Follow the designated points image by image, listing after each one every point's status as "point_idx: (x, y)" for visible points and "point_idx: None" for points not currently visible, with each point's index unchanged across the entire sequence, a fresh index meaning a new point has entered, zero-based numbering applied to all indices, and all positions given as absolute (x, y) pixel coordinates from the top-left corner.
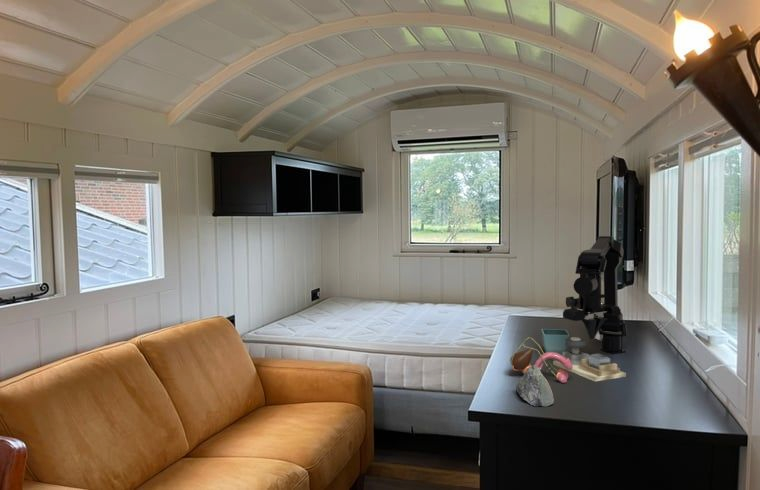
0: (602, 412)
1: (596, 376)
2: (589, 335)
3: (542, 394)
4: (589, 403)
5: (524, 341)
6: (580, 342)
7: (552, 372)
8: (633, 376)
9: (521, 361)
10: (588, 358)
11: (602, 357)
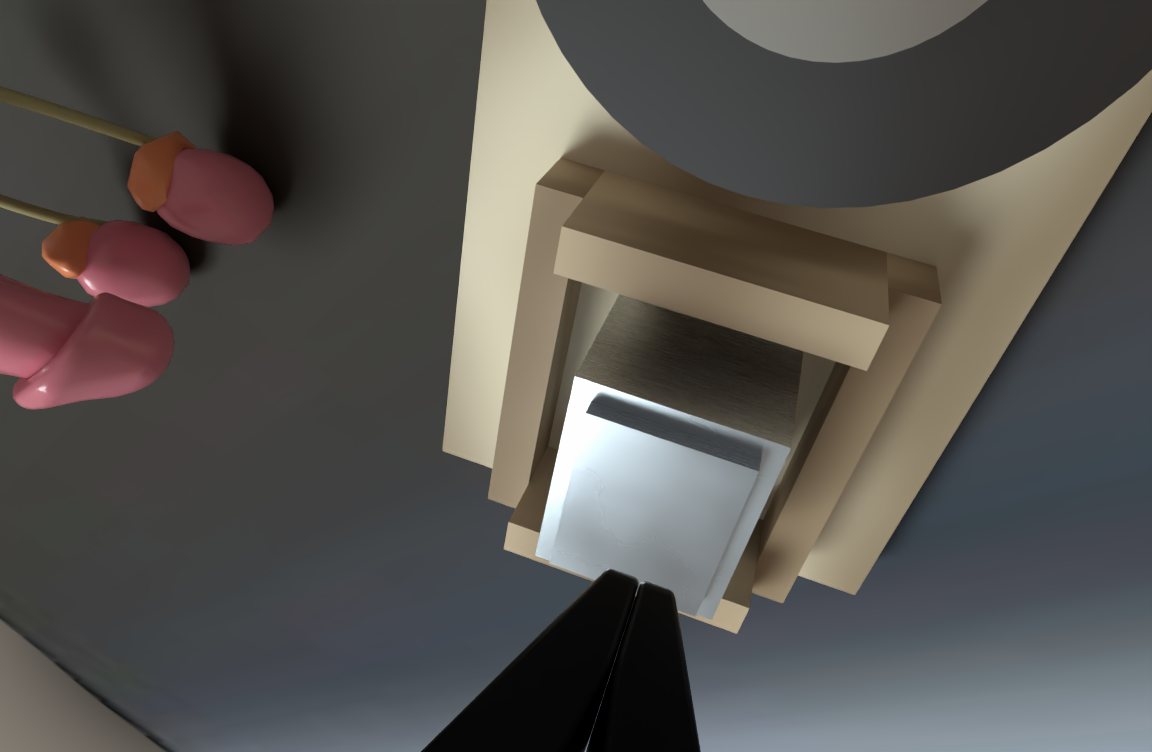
0: (124, 639)
1: (486, 445)
2: (559, 630)
3: None
4: (128, 563)
5: None
6: (697, 171)
7: (1, 202)
8: (927, 605)
9: None
10: (687, 281)
11: (595, 578)
